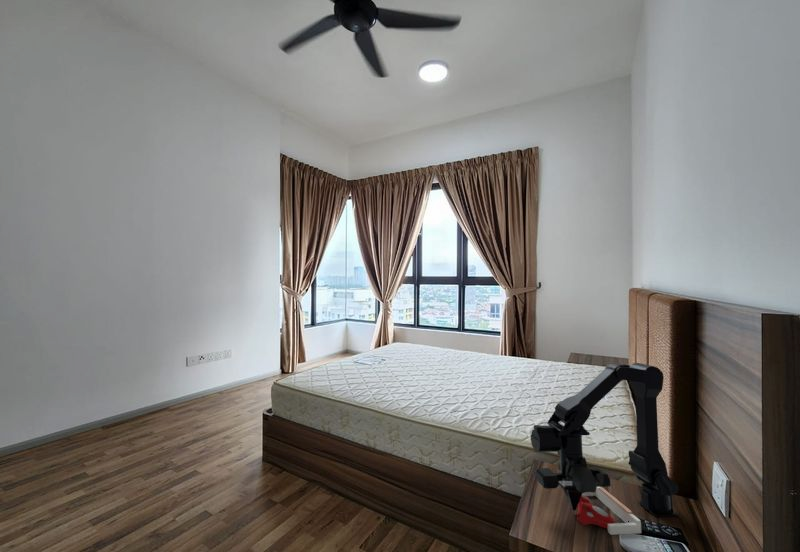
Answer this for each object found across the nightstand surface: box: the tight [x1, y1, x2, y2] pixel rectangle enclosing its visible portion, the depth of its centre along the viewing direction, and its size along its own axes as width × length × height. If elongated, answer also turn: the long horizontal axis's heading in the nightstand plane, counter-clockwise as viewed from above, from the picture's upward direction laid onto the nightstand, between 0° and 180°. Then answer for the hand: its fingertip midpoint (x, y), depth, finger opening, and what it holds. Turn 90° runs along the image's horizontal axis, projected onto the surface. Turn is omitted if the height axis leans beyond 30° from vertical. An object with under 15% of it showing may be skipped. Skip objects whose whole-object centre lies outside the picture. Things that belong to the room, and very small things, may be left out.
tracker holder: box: [576, 495, 617, 530], centre depth 93 cm, size 12×4×10 cm
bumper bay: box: [582, 487, 642, 536], centre depth 95 cm, size 8×18×3 cm, turn 3°
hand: (573, 509), depth 94 cm, fingers closed
